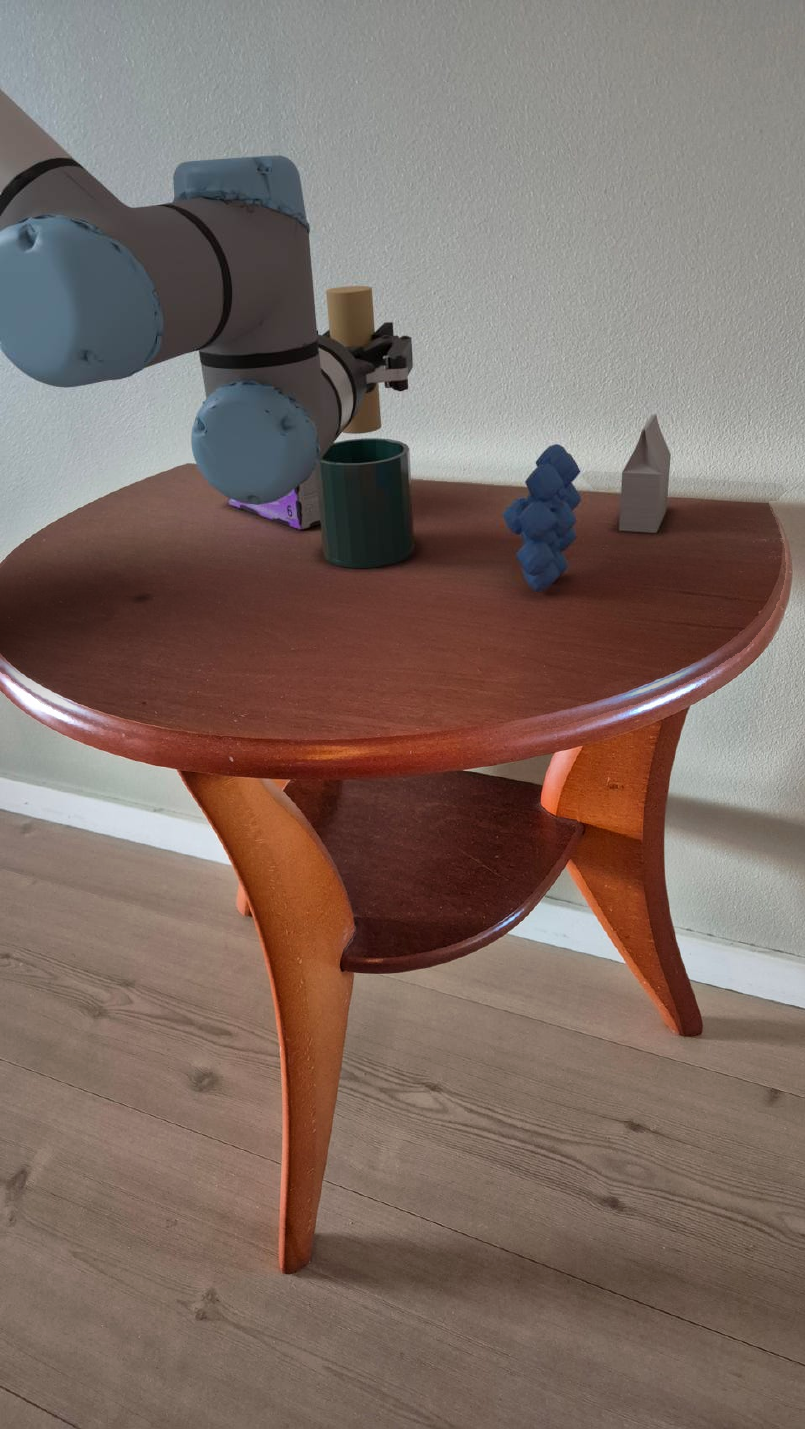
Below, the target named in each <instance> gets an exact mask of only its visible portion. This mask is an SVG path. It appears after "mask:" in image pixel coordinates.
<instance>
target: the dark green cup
mask: <svg viewBox="0 0 805 1429" xmlns="http://www.w3.org/2000/svg"><path fill="white" fill-rule="evenodd" d="M410 454H411V452H410V447H409V445H408V444H407V443H404V442H402V441H399V440H395V439H391V438H381V437H380V438H378V437H370V438H369V437H368V438H366V437H365V438H363V437H361V438H353V439H346V440H339V441H334V443H333V444H332V445H331V446H330V448H329V449H328V450H327V452H326V453H325V454H324V456H323V457H322V458H321V460H320V461H319V462H318V464H317V465H316V468H315V477H316V486H317V496H318V506H319V516H320V524H319V526H320V535H321V544H322V545H321V546H322V552H323V558H324V559H325V560H326V561H327V562H329V563H331V564H333V565H336V566H339V567H343V568H350V569H373V568H381V567H386V566H391V565H394V564H397V563H400V562H402V561H404V560H406V559H407V558H409V557H411V555H412V554H413V553H414V551H415V530H414V527H415V526H414V511H413V510H414V509H413V508H414V507H413V490H412V473H411V470H412V469H411V455H410Z"/></svg>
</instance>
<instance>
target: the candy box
mask: <svg viewBox="0 0 805 1429" xmlns="http://www.w3.org/2000/svg"><path fill="white" fill-rule="evenodd" d="M228 504H229V505H230V506H232V507H235V508H238V509H242V510H244V511H247V512H249V513H251V514H252V513H253V514H255V515H258V516H260V517H264V518H266V519H269V520H272V521H275V522H277V523H280V524H283V525H286V526H289V527H292V528H294V529H297V530H300V531H301V530H305V529H309V528H312V527H314V526H318V525H320V516H319V506H318V496H317V486H316V477H315V470H314V471H312V475H311V476H310V477H309V478H308V479H307V480H306V481H305V482H304V483H302V484H300V485H299V486H298V487H296V488H294V489H293V490H292V491H291V492H290V493H289V494H287V495H286V496H284V497H283V498H281V499H279V500H276V501H274V502H271V503H266V504H259V505H254V504H246V503H241V502H238V501H235V500H233V499H230V498H228Z"/></svg>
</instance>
